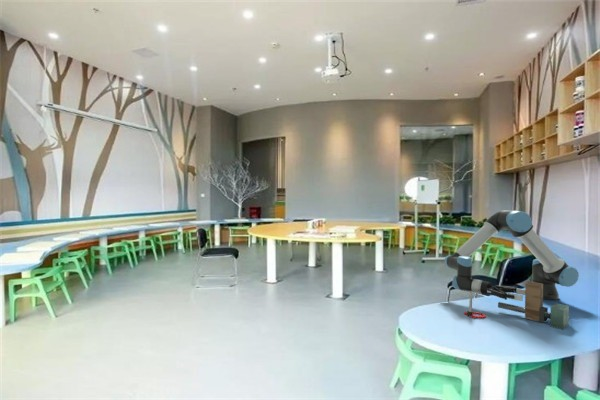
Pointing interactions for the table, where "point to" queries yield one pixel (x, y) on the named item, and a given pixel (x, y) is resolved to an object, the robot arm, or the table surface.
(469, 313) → the tow hook
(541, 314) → the collar
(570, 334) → the table surface
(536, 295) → the sleeve
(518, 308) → the rod stand
